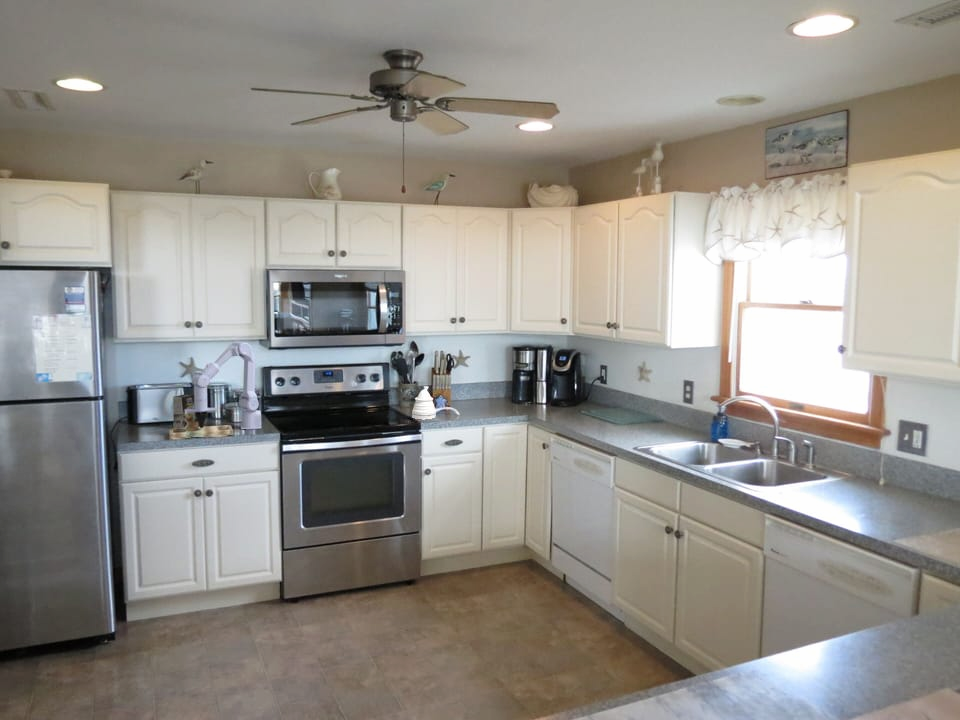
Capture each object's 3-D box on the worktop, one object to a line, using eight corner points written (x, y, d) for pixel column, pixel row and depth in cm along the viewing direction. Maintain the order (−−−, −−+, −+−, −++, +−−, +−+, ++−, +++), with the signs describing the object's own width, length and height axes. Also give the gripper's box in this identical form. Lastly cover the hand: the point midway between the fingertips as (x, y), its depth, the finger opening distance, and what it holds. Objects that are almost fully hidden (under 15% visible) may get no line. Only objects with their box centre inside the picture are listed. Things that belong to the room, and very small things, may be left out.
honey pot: (419, 416, 411) (419, 384, 409) (439, 418, 405) (440, 386, 403) (407, 420, 399) (408, 387, 397) (428, 422, 394) (429, 389, 392)
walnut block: (198, 428, 355) (197, 420, 355) (198, 430, 351) (198, 422, 350) (188, 429, 353) (187, 421, 353) (188, 431, 349) (188, 422, 349)
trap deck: (230, 430, 366) (230, 425, 365) (233, 435, 353) (233, 430, 353) (169, 433, 355) (169, 428, 354) (169, 439, 342) (169, 434, 342)
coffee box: (184, 429, 365) (184, 397, 363) (173, 428, 366) (172, 396, 365) (195, 425, 374) (194, 394, 372) (184, 425, 375) (183, 393, 373)
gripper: (184, 401, 345) (185, 430, 347) (217, 400, 351) (218, 428, 353) (184, 399, 352) (185, 427, 353) (216, 397, 358) (217, 425, 359)
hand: (201, 427), depth 353 cm, fingers closed
